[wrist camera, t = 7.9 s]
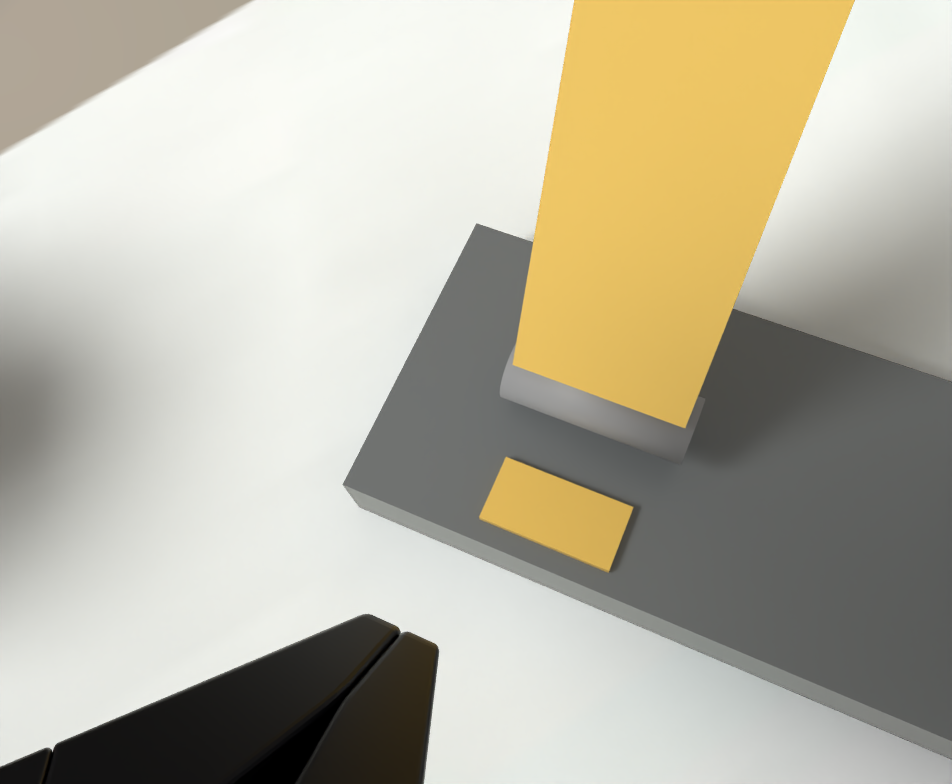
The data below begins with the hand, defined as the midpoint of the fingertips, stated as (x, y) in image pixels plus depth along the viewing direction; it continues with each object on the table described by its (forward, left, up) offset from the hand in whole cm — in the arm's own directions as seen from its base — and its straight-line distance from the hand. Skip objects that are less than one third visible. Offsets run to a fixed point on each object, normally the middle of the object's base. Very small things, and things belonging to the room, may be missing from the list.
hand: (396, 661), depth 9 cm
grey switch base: (+3, -9, -13) cm, 16 cm away
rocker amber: (+6, -4, -9) cm, 12 cm away
